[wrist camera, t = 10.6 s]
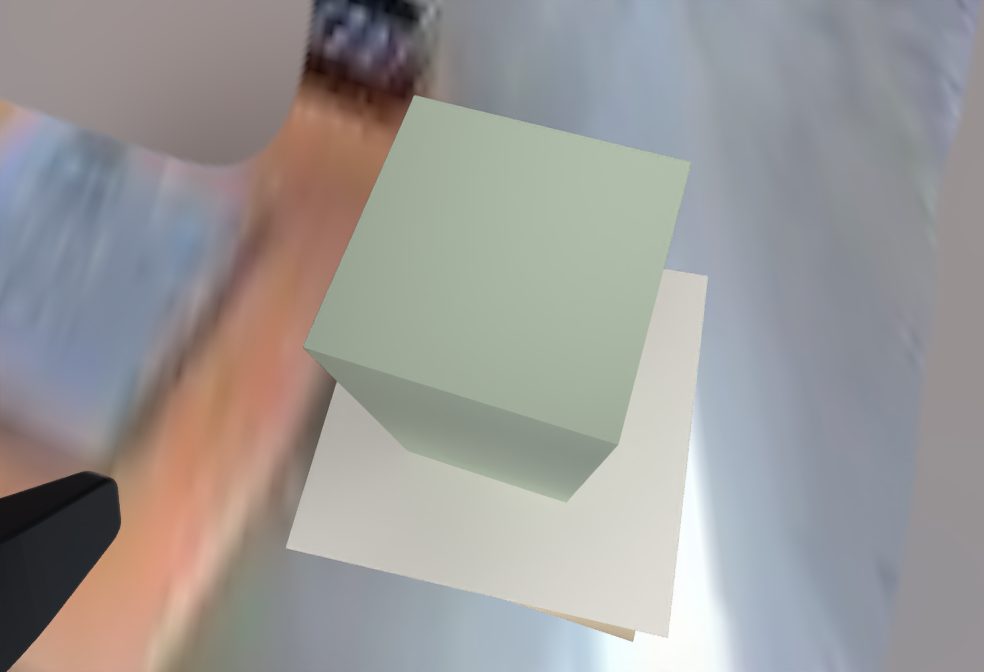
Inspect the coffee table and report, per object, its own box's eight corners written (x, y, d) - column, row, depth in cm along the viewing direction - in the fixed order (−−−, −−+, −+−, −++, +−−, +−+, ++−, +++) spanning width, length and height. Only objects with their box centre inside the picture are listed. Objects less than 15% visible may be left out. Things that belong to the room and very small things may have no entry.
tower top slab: (647, 627, 18) (667, 638, 15) (314, 549, 19) (285, 548, 16) (686, 308, 21) (707, 276, 19) (400, 256, 22) (386, 220, 20)
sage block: (566, 502, 17) (618, 444, 8) (408, 451, 17) (302, 347, 9) (608, 349, 18) (691, 162, 9) (460, 306, 19) (414, 95, 10)
